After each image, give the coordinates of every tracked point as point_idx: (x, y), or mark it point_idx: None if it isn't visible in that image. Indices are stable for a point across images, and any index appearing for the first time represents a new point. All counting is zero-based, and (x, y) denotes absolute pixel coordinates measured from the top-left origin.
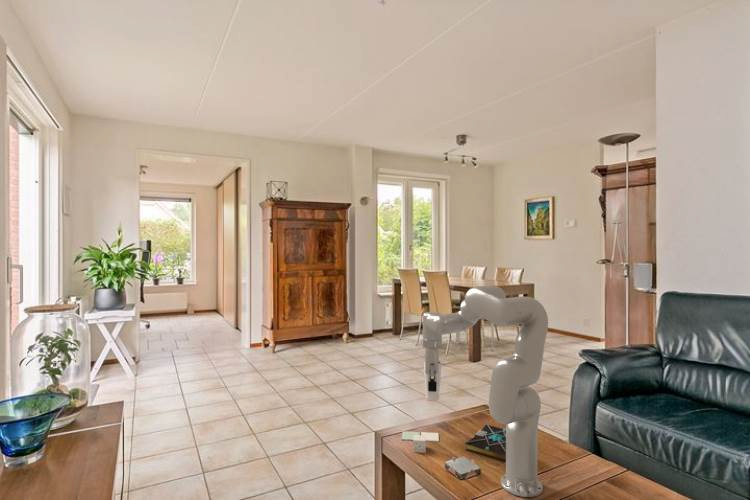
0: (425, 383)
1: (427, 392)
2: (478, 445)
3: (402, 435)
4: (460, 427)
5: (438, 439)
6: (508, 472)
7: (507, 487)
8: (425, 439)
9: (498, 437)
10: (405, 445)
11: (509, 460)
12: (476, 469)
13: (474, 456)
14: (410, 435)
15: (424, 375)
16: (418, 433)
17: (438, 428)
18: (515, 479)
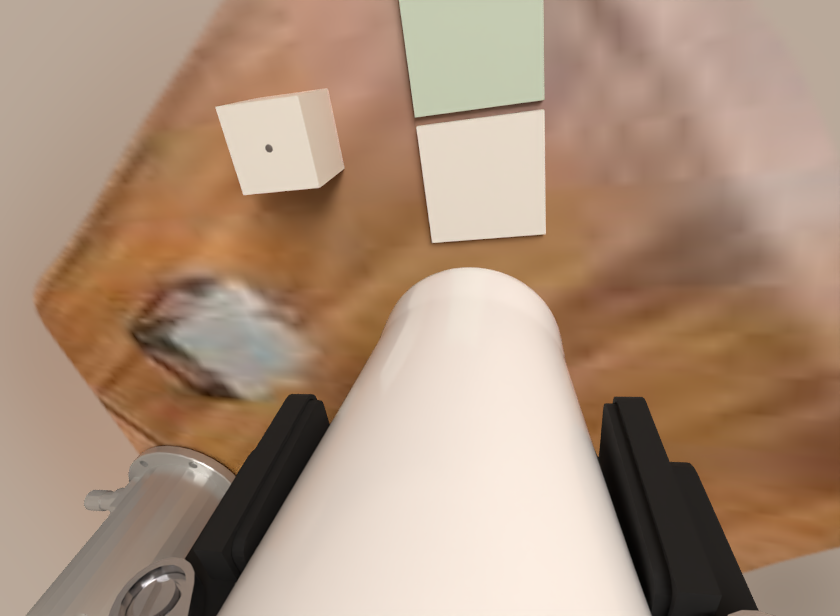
0: (354, 423)
1: (374, 349)
2: None
3: None
4: (657, 354)
5: (449, 239)
6: (125, 501)
7: (137, 462)
8: (260, 192)
9: None
10: (321, 20)
11: (86, 544)
12: (229, 389)
13: (329, 391)
14: (470, 31)
15: (291, 603)
16: (517, 93)
17: (638, 228)
18: (114, 505)
